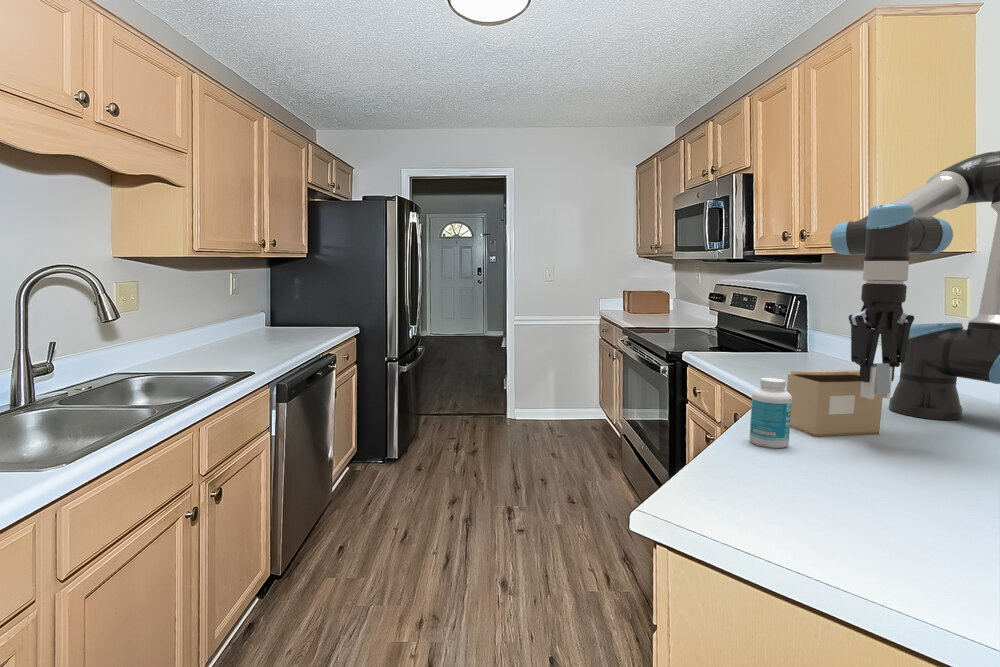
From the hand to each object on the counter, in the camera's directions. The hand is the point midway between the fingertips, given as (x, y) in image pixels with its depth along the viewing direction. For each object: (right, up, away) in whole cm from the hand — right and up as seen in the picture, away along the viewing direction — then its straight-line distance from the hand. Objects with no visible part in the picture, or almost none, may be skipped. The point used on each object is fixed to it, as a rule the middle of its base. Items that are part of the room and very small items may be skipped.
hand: (874, 397), depth 119 cm
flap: (-1, +1, +6) cm, 7 cm away
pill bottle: (-21, -10, +1) cm, 24 cm away
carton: (-2, -9, +12) cm, 15 cm away
